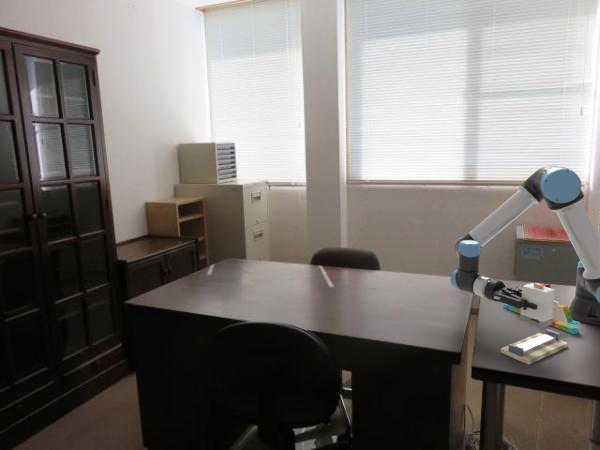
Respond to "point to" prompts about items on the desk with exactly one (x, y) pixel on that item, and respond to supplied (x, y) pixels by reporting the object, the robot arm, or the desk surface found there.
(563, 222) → the robot arm
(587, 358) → the desk surface
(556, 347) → the rail board
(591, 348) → the desk surface
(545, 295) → the breaker module
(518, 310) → the chart
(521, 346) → the steel rail
